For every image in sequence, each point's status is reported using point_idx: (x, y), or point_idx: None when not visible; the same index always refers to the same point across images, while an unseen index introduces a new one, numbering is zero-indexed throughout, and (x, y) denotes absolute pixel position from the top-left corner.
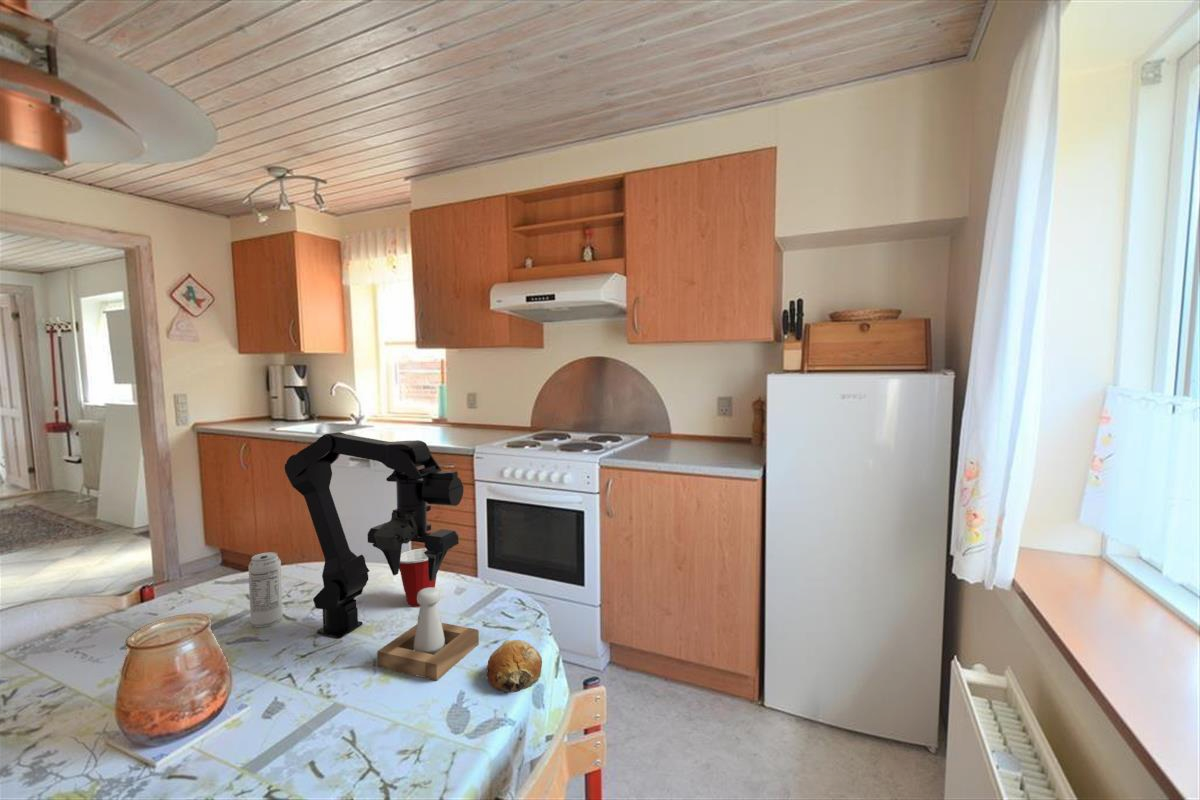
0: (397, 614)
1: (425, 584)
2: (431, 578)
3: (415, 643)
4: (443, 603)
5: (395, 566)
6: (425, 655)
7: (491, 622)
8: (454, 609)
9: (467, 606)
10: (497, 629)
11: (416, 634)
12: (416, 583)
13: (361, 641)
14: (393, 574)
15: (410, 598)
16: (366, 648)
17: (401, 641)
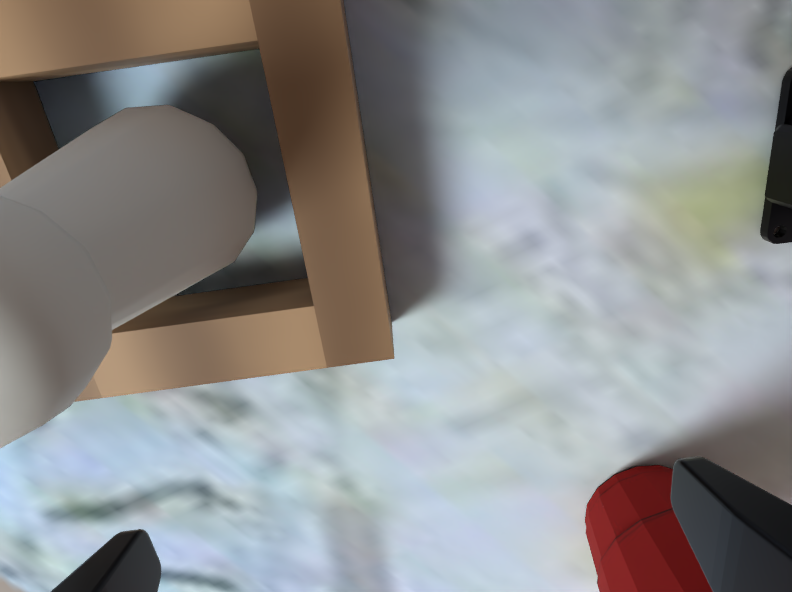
0: (658, 387)
1: (625, 587)
2: (88, 560)
3: (178, 120)
4: (524, 539)
5: (746, 567)
6: (6, 49)
7: (196, 514)
8: (436, 524)
9: (403, 562)
10: (122, 486)
11: (164, 139)
12: (670, 570)
13: (639, 111)
14: (695, 460)
15: (668, 490)
16: (554, 69)
17: (292, 105)
